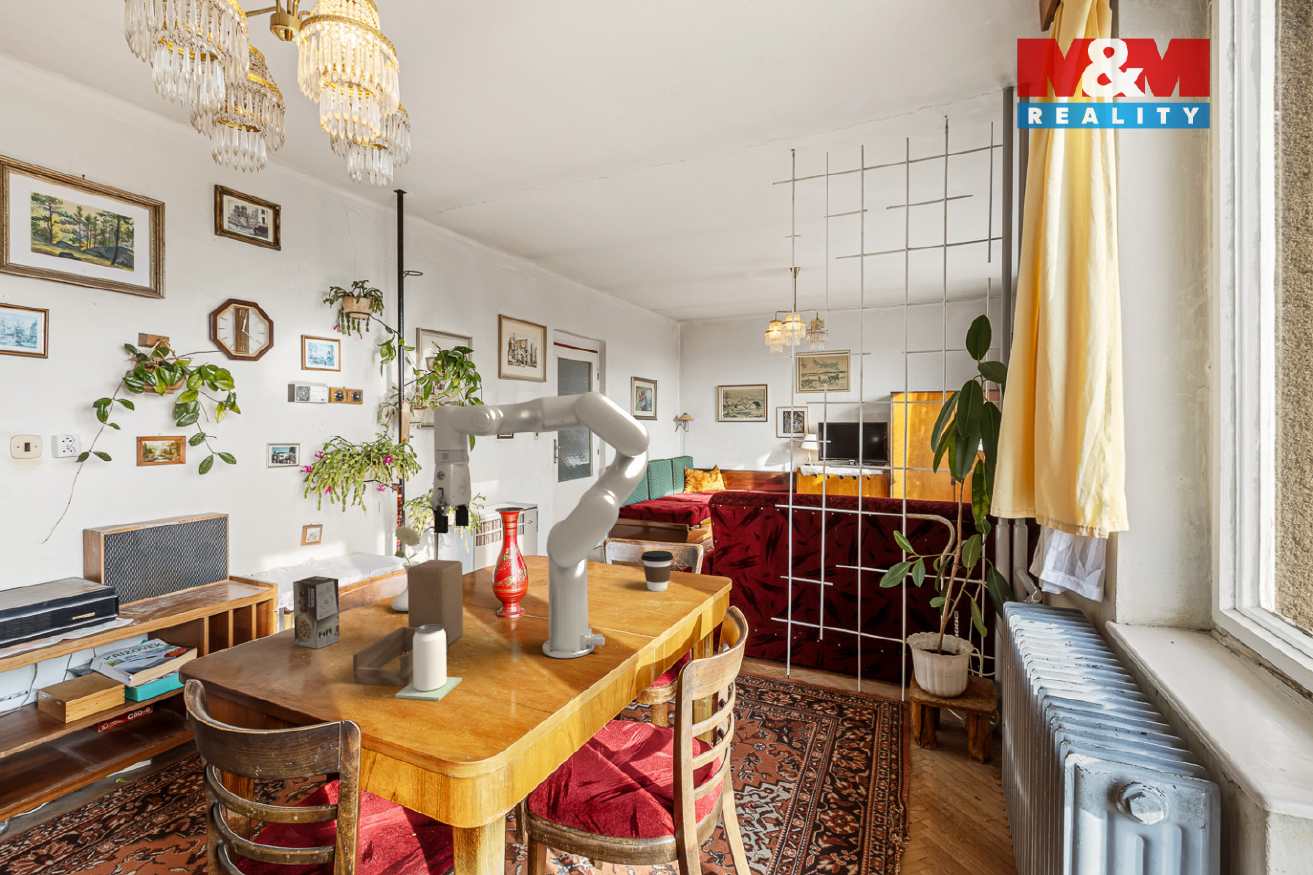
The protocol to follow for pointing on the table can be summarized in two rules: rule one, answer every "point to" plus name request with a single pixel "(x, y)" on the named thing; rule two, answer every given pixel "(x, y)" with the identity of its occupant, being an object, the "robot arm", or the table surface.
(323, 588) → the coffee box
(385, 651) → the walnut box
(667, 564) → the coffee cup
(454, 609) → the block
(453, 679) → the sage mat
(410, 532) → the flower in vase
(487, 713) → the table surface
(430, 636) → the can
